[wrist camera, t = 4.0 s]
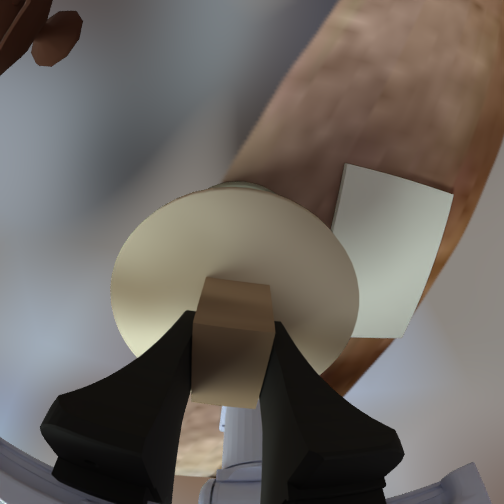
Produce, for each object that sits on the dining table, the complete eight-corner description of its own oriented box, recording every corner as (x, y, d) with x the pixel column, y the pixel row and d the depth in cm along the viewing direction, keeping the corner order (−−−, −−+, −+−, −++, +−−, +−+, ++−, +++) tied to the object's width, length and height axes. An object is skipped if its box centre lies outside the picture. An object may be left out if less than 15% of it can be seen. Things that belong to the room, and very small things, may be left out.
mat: (399, 334, 24) (401, 338, 24) (303, 330, 24) (304, 334, 23) (449, 193, 19) (453, 194, 19) (344, 163, 19) (347, 163, 18)
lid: (317, 395, 15) (328, 447, 12) (129, 373, 14) (108, 423, 11) (382, 211, 11) (431, 244, 7) (114, 174, 10) (60, 194, 7)
